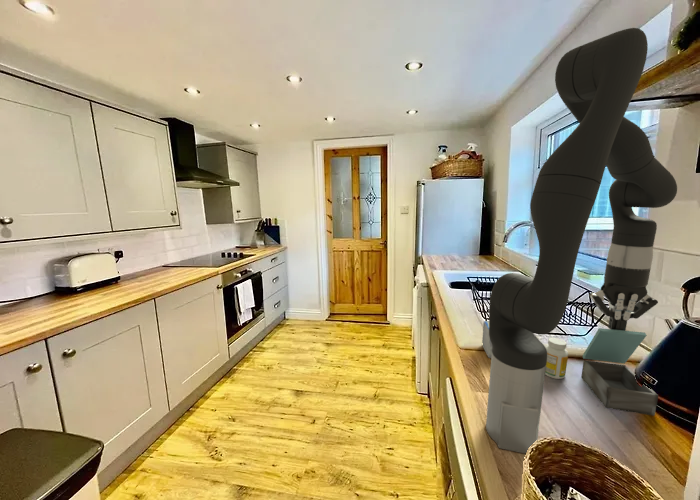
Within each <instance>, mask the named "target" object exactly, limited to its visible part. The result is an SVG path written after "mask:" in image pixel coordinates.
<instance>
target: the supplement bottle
mask: <svg viewBox="0 0 700 500" xmlns="http://www.w3.org/2000/svg"><path fill="white" fill-rule="evenodd" d="M544 346H545V348H546V350H547V363H546V371H545V376H547V377H549V378H552V379H556V380H557V379H558V380H561V379H564V378H565V377H566V374H567V365H568V359H569V351H568V350H567V349H566V348H567V342H566V341H565V340H563V339H561V338H558V337H549V338H548V341H547V345H544Z"/></svg>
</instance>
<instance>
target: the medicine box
mask: <svg viewBox="0 0 700 500" xmlns="http://www.w3.org/2000/svg"><path fill="white" fill-rule="evenodd" d="M481 343H483V346H482V347H483V349H484V352H485V353H486V356H487V357H488V358H489V359H491V357H492V343H491V341H490V337H489V320H484V321H483V325H482V339H481Z"/></svg>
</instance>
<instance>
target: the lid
mask: <svg viewBox="0 0 700 500" xmlns="http://www.w3.org/2000/svg"><path fill="white" fill-rule="evenodd" d="M646 337H647V333H646V332H642V331H635V330H634V331H633V330H632V331H629V330H625V331H623V330H612V329H609V328H603V327H602V328H599V327H598V329H597V331H596V333H595V334H594V336H593V337H592V339H591V340H590V342H589V344H588V345H587V347H586V349H585V351H584V353H582V358H583V360H584V359H585V360H590V361H598V362H606V363H615V364H623V365H625V364H626V363H627V361H629V358H631V356H632V355H633V354H634V353H635V352H636V350H637V349H638V347H639V346H640V345H641V343H643V341H644V340H645V339H646Z"/></svg>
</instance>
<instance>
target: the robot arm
mask: <svg viewBox="0 0 700 500" xmlns="http://www.w3.org/2000/svg"><path fill="white" fill-rule="evenodd" d="M648 47H649V46H648V38H647V35H646V33H645V32H644V31H643V30H642V29H640V28H638V27H629V28H625V29H622V30H618V31H615V32H613V33H609V34H608V35H606V36H603V37H600V38H598V39H595V40H592V41H589V42H587V43H585V44H581V45H580V46H577V47H575V48H573V49H570V50H569V51H567V52H565V54H564V55H563V56H562V57H561V58H560V60H559V61H558V63H557V66H556V69H555V74H554V83H555V89H556V90H557V93H558V95H559V98H560V99H561V100H562V103H563V104H564V105H565V106H566V108H567V109H568V111H569V112H570V113H571V114H572V115H573V117H574V118H575V119H576V121H577V122H578V123H579V124H578V125H577V127H576V128H575V129H574V130H573V131H572V132H571V133H570V134H569V135H568V136H567V137H566V138H565V139H564V141H563V142H562V143H560V145H559V146H557V148H556V149H555V150H554V151H553V152H552V153H551V155H549V157H548V158H547V159H546V160H545V162H544V163H543V165H542V166H541V168H540V170H539V172H538V176H537V178H536V181H535V185H534V188H533V191H532V194H531V198H530V203H529V206H530V207H529V208H530V215H531V219H532V223H533V226H534V229H535V232H536V233H535V234H536V237H537V241H538V248H539V249H538V250H539V252H538V253H539V255H538V261H537V266H536V270H535V274H534V276H533V277H531V276H527V275H524V274H520V273H514V272H509V273H505V274H503V275H501V276H500V277H499V278H498V279H497V280H496V282H495V283H494V285H493V287H492V290H491V292H490V297H489V308H488V309H489V310H488V311H489V313H488V317H489V319H488V321H489V337H490V341H491V343H492V357H491V358H490V359H491V360H490V369H489V371H490V372H489V373H490V374H489V382H488V395H487V406H486V422H485V428H486V432H487V434H488V436H489V437H490V438H491V439H492V440H493V441H494V442H495V443H496V444H497V448H498V449H502V450H506V451H511V452H515V453H516V452H517V453H520V454H521V453H522V454H525V453H526V452H527V450H528V448H529V447H530V446H531V445H532V444H533V443H534V442H535V441H536V440H537V441H538V439H539V438H538V437H539V429H540V421H541V410H542V403H543V395H544V385H545V378H546V375H545V371H546V363H547V350H546V348H545V346H546V345H545V344H543V342H542V341H541V340H540V339H539V338H538V337H537V336H536V335H541V336H543V335H547V334H549V333H551V332H552V331H554V330H555V329H556V328H557V327H558V325H559V324H560V322H561V321H562V319H563V317H564V315H565V311H566V308H567V305H568V300H569V297H570V291H571V287H572V281H573V277H574V273H575V266H576V262H577V257H578V254H579V251H580V247H581V243H582V241H583V237H584V233H585V231H586V227H587V225H588V221H589V219H590V216H591V213H592V210H593V208H594V206H595V203H596V200H597V196H598V193H599V191H600V187H601V184H602V180H603V177H604V174H605V170H606V167H607V171H608V173H609V174H610V176H611V177H612V178H613V179H614V180H613V182H612V183H611V184H610V187H609V189H608V200H609V205H610V208H611V213H612V214H611V215H612V222H613V229H612V235H611V236H612V237H611V243H610V246H609V248H608V252H607V257H606V265H605V269H604V270H605V272H604V277H603V284H602V286H600V290H598V291H597V292H590V293H589V294H588V297H589V298H590V299H591V300H592V302H594V304H595V305H596V307H597V308H598V309H599V310H600V312H601V313H602V314H604V315H605V316H606V317H609V320H608V326H607V329H612V330H623V331H627V324H628V321H629V320H630V319H635V320H636V319H639V318H640V317H642V316H643V315H644V314H646V313H647V312H648V311H649V310H651V309H652V308H653V307H655V306H656V305H657V304H658V303H659V302H658V300H657V299H655V298H653V297H651V296H650V295H649V294H648V290H647V285H649V280H650V274H651V269H652V264H653V259H654V246H655V245H654V244H655V238H656V234H657V228H658V227H657V225H658V224H657V222H656V221H655V220H653V219H650V218H647V217H642V216H638V215H636V213H635V212H634V211H633V208H648V209H650V208H651V209H657V208H663V207H665V206H667V205H669V204H670V203H672V202H673V200H674V199H675V197H676V196H677V193H678V184H677V182H676V181H677V180H676V179H675V177H674V176H673V174H672V173H671V172H670V171H669V170H668V169H667V168H666V167H665V166H664V165H663V164H662V163H661V162H660V161H659V160H658V159H657V158H656V157H655V155H654V152H653V149H652V146H651V143H650V139H649V137H648V136H647V133H646V132H645V131H644V130H643V129H642V128H641V127H640V126H639V125H637V124H636V123H634V122H633V121H631V120H629V119H628V118H627V117H625V115H626V112H627V110H628V107H629V105H630V103H631V100H632V99H633V96H634V94H635V91H636V89H637V87H638V85H639V83H640V81H641V80H640V79H641V78H642V75H643V72H644V69H645V66H646V63H647V62H646V61H647V57H648ZM605 299H606V301H608V306H609V307H608V306H607V305H606V304H605V303H604V301H605ZM535 334H536V335H535Z"/></svg>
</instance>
